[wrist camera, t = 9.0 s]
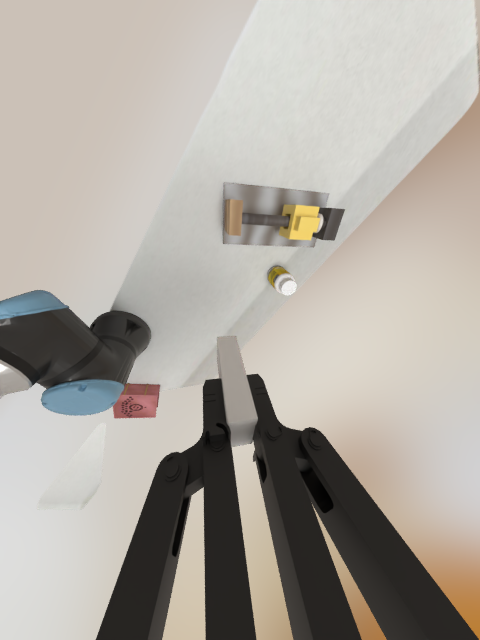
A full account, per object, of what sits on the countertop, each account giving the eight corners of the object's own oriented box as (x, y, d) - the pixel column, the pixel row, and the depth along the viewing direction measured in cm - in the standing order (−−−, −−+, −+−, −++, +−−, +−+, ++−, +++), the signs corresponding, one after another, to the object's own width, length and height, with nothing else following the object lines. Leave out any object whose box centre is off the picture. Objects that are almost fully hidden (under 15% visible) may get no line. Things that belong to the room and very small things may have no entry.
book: (160, 382, 67) (157, 394, 63) (157, 405, 75) (155, 417, 71) (117, 381, 63) (111, 393, 59) (119, 405, 70) (114, 418, 66)
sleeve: (278, 234, 41) (293, 240, 35) (283, 204, 38) (301, 204, 31) (298, 235, 42) (315, 241, 36) (304, 206, 39) (325, 207, 32)
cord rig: (223, 243, 44) (227, 251, 36) (224, 182, 37) (229, 177, 30) (312, 246, 48) (332, 254, 41) (327, 193, 42) (354, 191, 35)
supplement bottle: (268, 264, 49) (281, 276, 41) (286, 266, 50) (302, 277, 42) (265, 283, 52) (276, 297, 44) (281, 283, 53) (296, 298, 45)
